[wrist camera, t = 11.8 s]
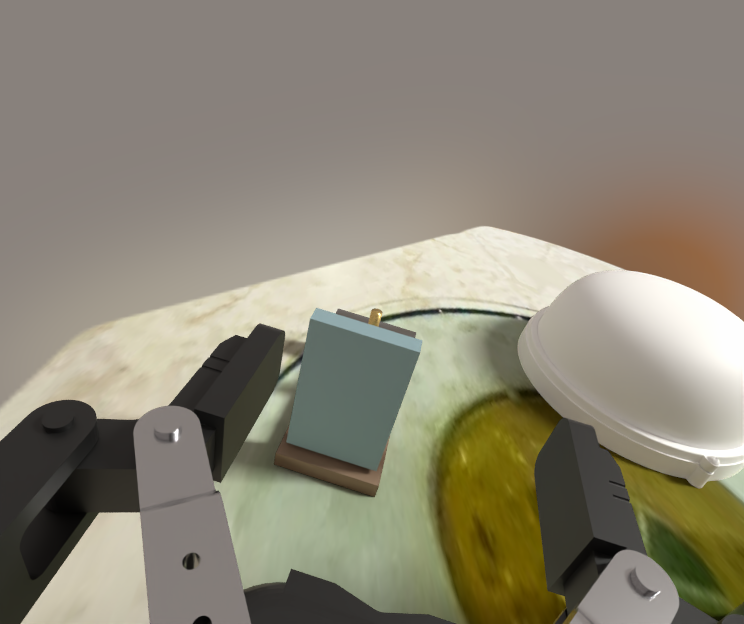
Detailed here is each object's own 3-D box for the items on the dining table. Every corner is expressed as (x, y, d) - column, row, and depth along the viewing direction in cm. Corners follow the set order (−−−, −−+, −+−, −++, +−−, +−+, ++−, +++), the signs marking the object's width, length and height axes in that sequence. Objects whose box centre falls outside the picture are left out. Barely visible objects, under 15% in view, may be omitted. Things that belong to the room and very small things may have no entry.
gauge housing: (374, 497, 40) (390, 454, 37) (273, 464, 40) (281, 419, 37) (403, 368, 55) (416, 331, 52) (330, 345, 55) (338, 307, 52)
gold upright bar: (369, 390, 46) (391, 322, 42) (340, 381, 46) (358, 312, 42) (373, 378, 48) (394, 311, 43) (345, 369, 48) (363, 301, 44)
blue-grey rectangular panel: (376, 471, 39) (420, 352, 32) (286, 442, 40) (310, 318, 33) (385, 433, 43) (426, 319, 36) (302, 406, 44) (327, 288, 37)
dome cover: (813, 504, 52) (921, 416, 45) (570, 474, 48) (644, 370, 40) (657, 333, 79) (708, 260, 71) (490, 302, 74) (526, 221, 67)
